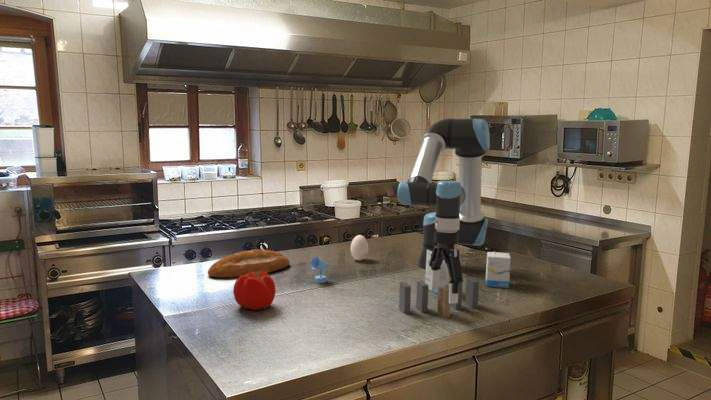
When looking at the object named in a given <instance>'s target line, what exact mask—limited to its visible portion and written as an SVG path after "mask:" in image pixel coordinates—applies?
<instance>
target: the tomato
mask: <svg viewBox="0 0 711 400" xmlns="http://www.w3.org/2000/svg"><path fill="white" fill-rule="evenodd" d="M232 289H233V290H232V292H233V297H234V300H235V302H236V303H237V305H239V306H240V307H242V308H243V309H246V310H249V309H250V310H252V311H258V310H264V309H266V308H267V307H270V306H271V305H272V303H273V302H274V299H275V297H276V284H275V281H274V279H273V278H272V277H271V275H270V274H269V273H267V272H266V271H259V272H257V273H255V272H250V273H247V274H246V275H243V276H240V277H237V279H236V280H235V282H234V284H233V288H232Z"/></svg>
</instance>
